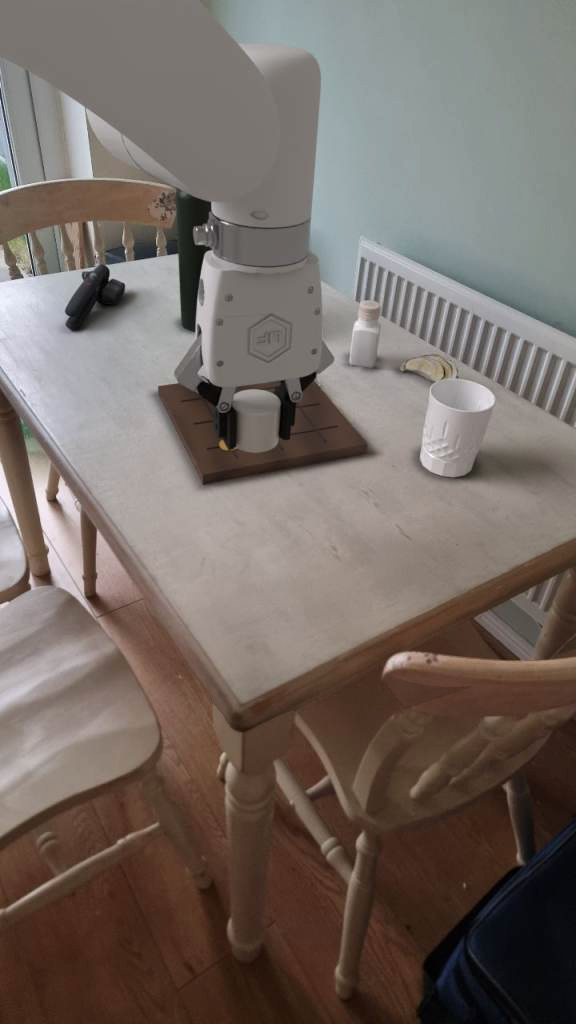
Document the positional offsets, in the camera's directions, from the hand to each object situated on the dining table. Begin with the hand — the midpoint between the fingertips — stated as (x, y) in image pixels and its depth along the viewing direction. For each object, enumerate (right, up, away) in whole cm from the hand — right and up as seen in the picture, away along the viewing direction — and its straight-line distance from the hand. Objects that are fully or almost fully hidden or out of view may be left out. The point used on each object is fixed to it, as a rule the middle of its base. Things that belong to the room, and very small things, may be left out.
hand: (254, 435), depth 65 cm
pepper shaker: (+15, +16, +45) cm, 50 cm away
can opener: (-31, +27, +54) cm, 68 cm away
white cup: (+24, -1, +25) cm, 34 cm away
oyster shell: (+25, +12, +41) cm, 50 cm away
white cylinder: (0, 0, 0) cm, 0 cm away
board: (-1, +5, +29) cm, 30 cm away
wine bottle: (-12, +24, +52) cm, 59 cm away
